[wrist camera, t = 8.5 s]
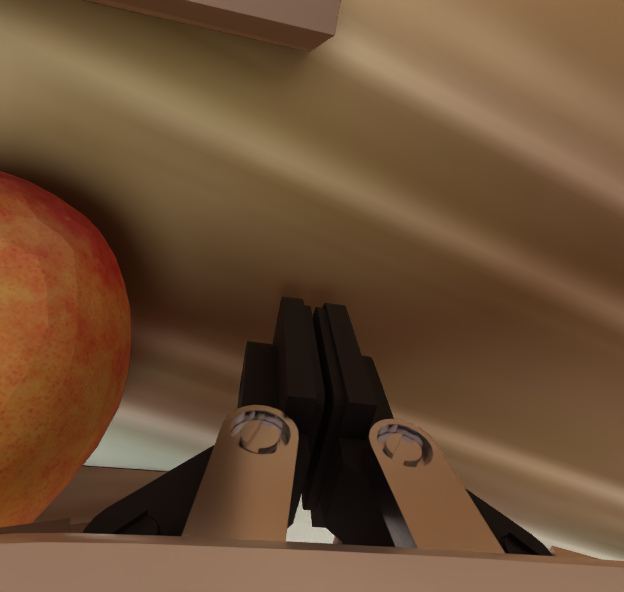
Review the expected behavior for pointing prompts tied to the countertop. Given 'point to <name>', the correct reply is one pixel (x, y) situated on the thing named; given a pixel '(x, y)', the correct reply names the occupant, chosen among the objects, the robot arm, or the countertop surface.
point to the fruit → (54, 345)
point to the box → (234, 20)
